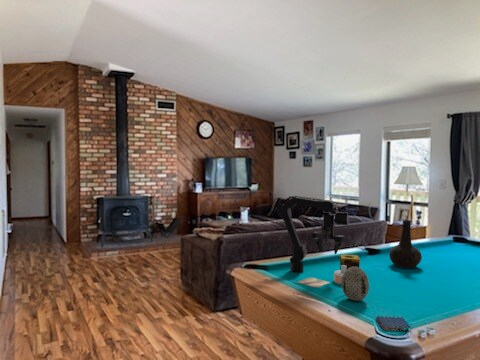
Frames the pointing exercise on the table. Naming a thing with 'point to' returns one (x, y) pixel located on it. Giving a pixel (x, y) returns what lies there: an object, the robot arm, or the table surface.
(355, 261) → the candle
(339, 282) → the bowl
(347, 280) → the decorative egg
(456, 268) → the table surface
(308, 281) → the mat
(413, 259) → the dark brown vase
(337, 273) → the lid
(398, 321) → the woven mat
